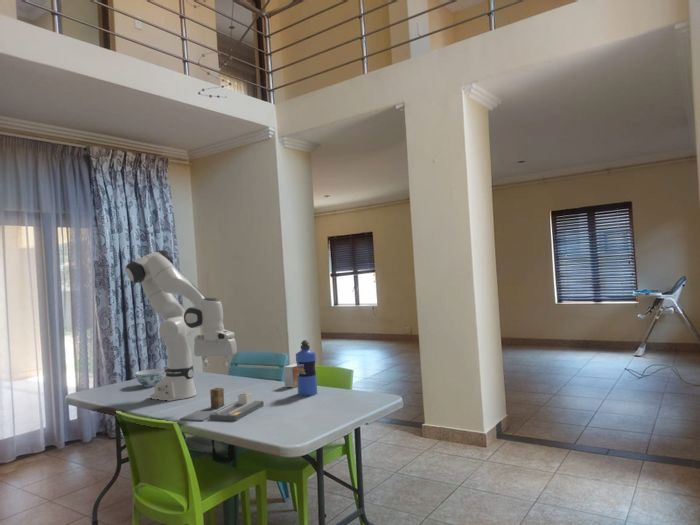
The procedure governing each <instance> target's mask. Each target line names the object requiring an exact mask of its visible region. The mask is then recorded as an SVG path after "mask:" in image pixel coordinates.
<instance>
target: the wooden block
mask: <svg viewBox="0 0 700 525" xmlns="http://www.w3.org/2000/svg"><path fill="white" fill-rule="evenodd" d="M209 394H210V408H211V409H215V408H219V409H222V408H224V407H225V391H224V388H223V387H214V388H211V389H210V393H209ZM223 406H224V407H223ZM221 407H222V408H221Z"/></svg>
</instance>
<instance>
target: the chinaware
mask: <svg viewBox="0 0 700 525" xmlns="http://www.w3.org/2000/svg"><path fill="white" fill-rule="evenodd" d="M164 370H165V369H163V368H153V369H152V368H151V369H144V370H139V371H136V372H134V376H135V379H136V381H137V382H138V383H139V384H141V385H142V386H143V387H144V388H152V387H151V386H153V387H155V385H156V384H157V383H158V382H160V381H161V380H162V379H163V378H164V374H165V371H164Z"/></svg>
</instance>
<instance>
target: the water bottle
mask: <svg viewBox="0 0 700 525" xmlns="http://www.w3.org/2000/svg"><path fill="white" fill-rule="evenodd" d="M309 343H310V342H309V341H308V340H307V339H305V340H302V341H301V342H300V351H298V352H297V353H295V362H296V364H297V368H298V373H297V384H298V386H297V395H298V396H299V395H302V396H301V397H311V396H310V395H313V396H316V395H318V382H317V380H318V379H317V373H316V372H317V371H316V360H317V358H316V356H317V355H316V352H315V351H313V350H311V349H310V348H311V347H310V344H309ZM315 394H316V395H315Z"/></svg>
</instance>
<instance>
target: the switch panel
mask: <svg viewBox="0 0 700 525" xmlns="http://www.w3.org/2000/svg"><path fill="white" fill-rule="evenodd" d="M264 404H265V403H264V401H263V400H252V401H251V402H249V403H247V404H245V405H239V401H238V400H237V401H235V402H233V403H231V404H229V405H227V406H224V407H222V408H219V409H217V411H213V412H214V413H212V414H210V418H209V420H210V419H212V420H211V421H213V420H214V421H224V420H229V421H231V422H237V421H238V419H239V420H240V418H241V419H242V418H244V417H245V416H248V415H249V413H250V414H251V413H253V412H255V411H257V410H258V409H260V408H262V407H264ZM247 414H248V415H247ZM236 420H237V421H236ZM229 421H228V422H229Z"/></svg>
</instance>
